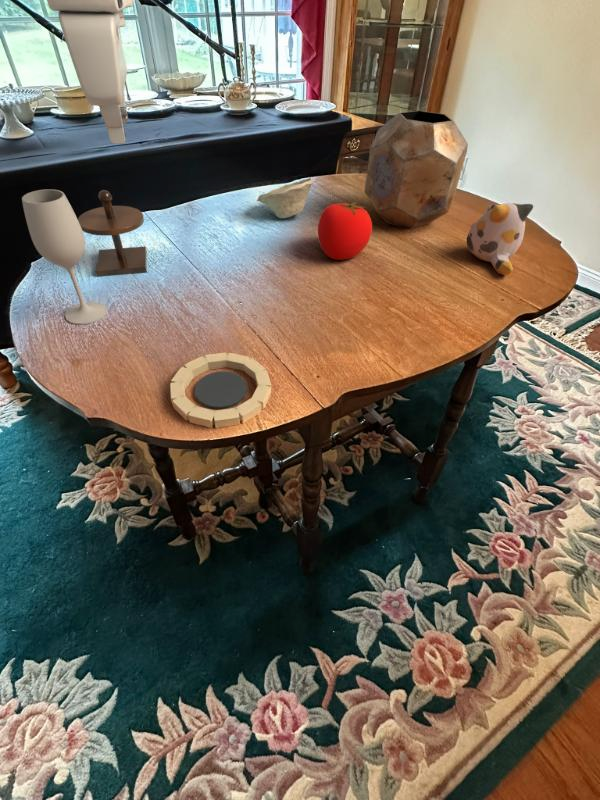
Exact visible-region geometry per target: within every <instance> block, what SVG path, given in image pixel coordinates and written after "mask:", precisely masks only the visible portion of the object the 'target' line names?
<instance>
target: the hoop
mask: <svg viewBox="0 0 600 800" xmlns="http://www.w3.org/2000/svg"><path fill="white" fill-rule="evenodd" d="M225 368H227V369H233V370H237V371H242V372H244V373H245V374H247V375H248V376H249V377H251V378H252V379H253V380H254V381H255V385H256V388H255V391H254V392H253V394H252V396H251V398H249V399H247V400H246V401H244V402H243V403H241V404H239V405H236V407H230V408H226V409H211V408H207V407H201V406H197V405H195V404H194V402H192V401H191V400H190V399H189V398H188V397H187V396H186V389H187V388H188V386H189V385H190V383H192V381H193V379H194V378H196V377H197V376H200V375H201V374H203V373H205V372H207V371H210V370H217V369H225ZM169 389H170V390H169V392H170V401H171V405H172V407H173V409H174V410H175V411H176V412H177V413H178V414H179V415H180V416H181V417H182V418H183V419H184V420H185V421H186V422H188V421H189V424H193V425H198V426H201V427H206V428H209V429H213V428H214V427H215V429H220V428H225V427H226V428H227V427H231V426H239V425H241V423H242V424H245V423H246V422H248V421H249V420H251V419H252V418H254V417H256V416H257V415H259V414H261V413H262V412H263V411H262V410H265V407H266V405H267V403H268V402H269V400H270V398H271V395H272V382H271V379H270V376H269V372H268V370H267V369H266V367H264V366H263V365H262V364H260V363H259V362H258V361H257V360H255V359H254V358H253V357H250V356H247V355H243V354H238V353H233V352H228V354H227V352H225V351H224V352H217V353H210V354H204V356H203V355H201V356H199V357H197V358H194V359H192V360H191V361H189V362H187V363H185V364H184V365H183V366H180V368H179V369H178V371H177V372H176V373H175V374H174V376H173V377H172V379H171V380H170V383H169Z"/></svg>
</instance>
